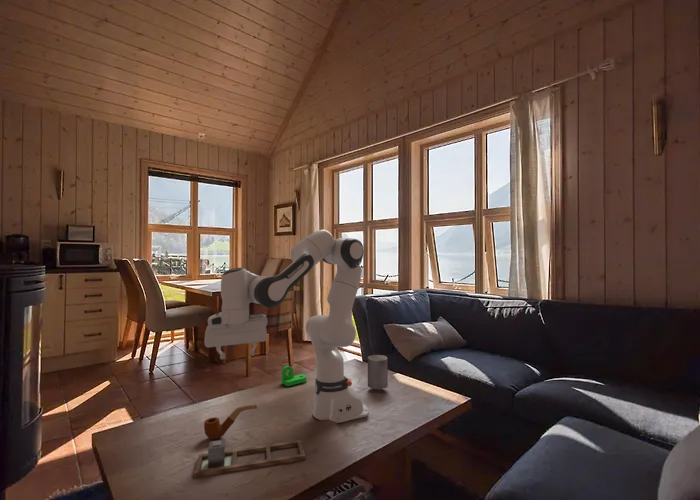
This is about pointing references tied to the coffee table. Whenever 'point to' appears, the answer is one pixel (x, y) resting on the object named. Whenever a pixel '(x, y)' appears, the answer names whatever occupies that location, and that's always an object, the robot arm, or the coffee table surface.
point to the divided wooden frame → (232, 466)
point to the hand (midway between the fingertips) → (237, 357)
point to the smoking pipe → (216, 429)
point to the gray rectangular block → (216, 454)
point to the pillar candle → (377, 372)
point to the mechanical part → (291, 377)
